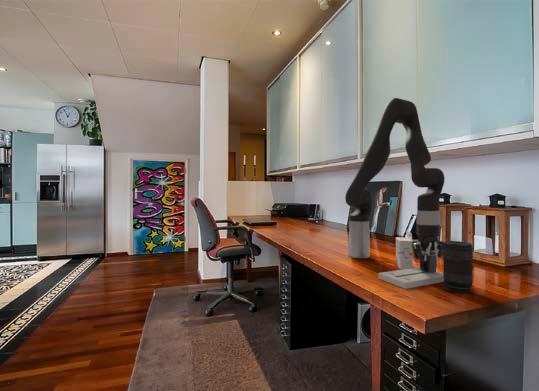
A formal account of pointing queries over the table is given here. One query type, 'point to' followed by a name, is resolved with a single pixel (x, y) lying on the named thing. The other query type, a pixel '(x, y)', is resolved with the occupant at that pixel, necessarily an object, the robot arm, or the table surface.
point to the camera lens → (458, 266)
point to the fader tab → (431, 263)
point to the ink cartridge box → (404, 252)
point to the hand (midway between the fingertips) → (428, 269)
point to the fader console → (411, 277)
